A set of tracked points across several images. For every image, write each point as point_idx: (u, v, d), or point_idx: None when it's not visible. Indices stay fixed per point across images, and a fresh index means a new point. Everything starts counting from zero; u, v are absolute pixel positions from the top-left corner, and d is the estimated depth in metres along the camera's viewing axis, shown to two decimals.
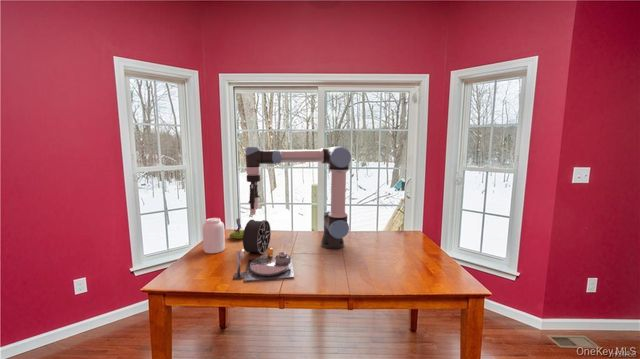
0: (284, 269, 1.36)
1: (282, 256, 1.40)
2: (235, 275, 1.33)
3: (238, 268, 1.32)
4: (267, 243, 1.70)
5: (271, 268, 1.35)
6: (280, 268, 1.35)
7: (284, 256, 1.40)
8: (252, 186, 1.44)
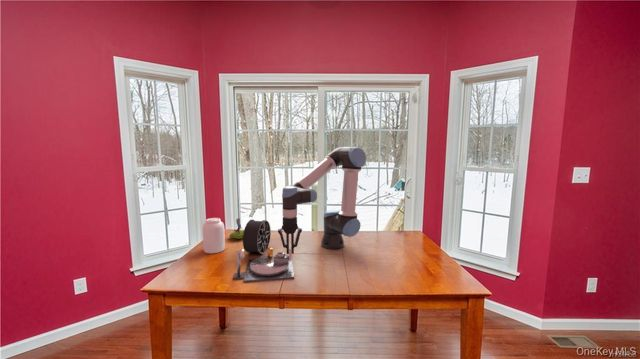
0: (284, 269, 1.36)
1: (280, 256, 1.40)
2: (235, 275, 1.33)
3: (238, 268, 1.32)
4: (267, 243, 1.70)
5: (271, 268, 1.35)
6: (280, 268, 1.35)
7: (282, 256, 1.40)
8: None
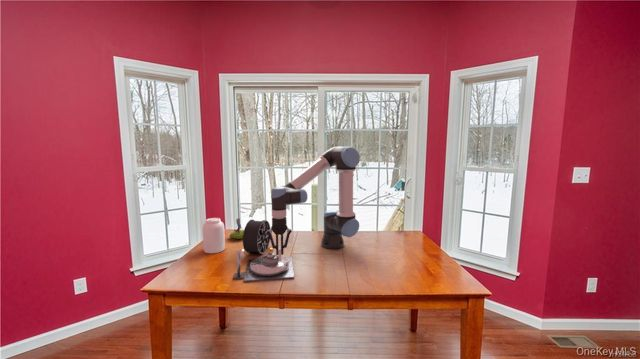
0: (284, 269, 1.36)
1: (270, 257, 1.39)
2: (235, 275, 1.33)
3: (238, 268, 1.32)
4: (267, 243, 1.70)
5: (271, 268, 1.35)
6: (280, 268, 1.35)
7: (272, 257, 1.39)
8: None
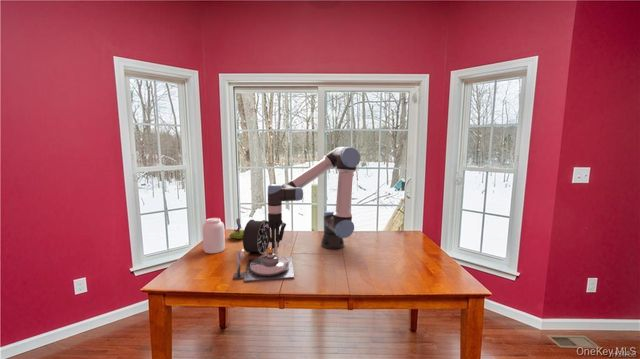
0: (284, 269, 1.36)
1: (270, 257, 1.39)
2: (235, 275, 1.33)
3: (238, 268, 1.32)
4: (267, 243, 1.70)
5: (271, 268, 1.35)
6: (280, 268, 1.35)
7: (272, 257, 1.39)
8: None
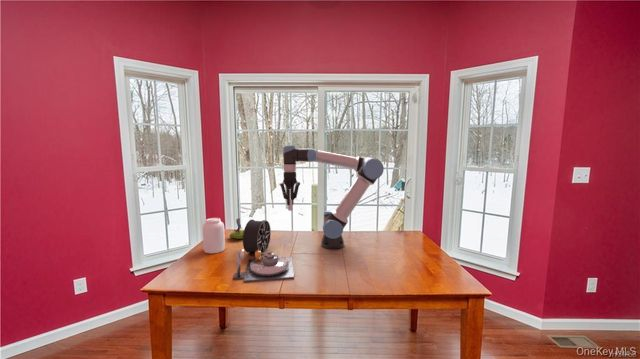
0: None
1: (272, 256, 1.40)
2: (235, 275, 1.33)
3: (238, 268, 1.32)
4: (267, 243, 1.70)
5: (281, 265, 1.39)
6: (286, 262, 1.43)
7: (273, 255, 1.41)
8: (280, 185, 1.57)
